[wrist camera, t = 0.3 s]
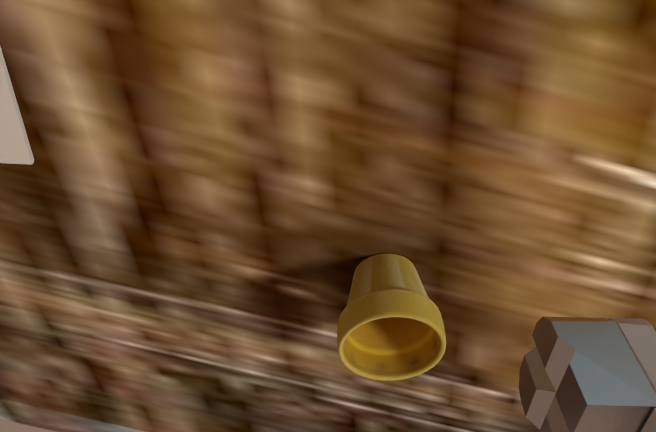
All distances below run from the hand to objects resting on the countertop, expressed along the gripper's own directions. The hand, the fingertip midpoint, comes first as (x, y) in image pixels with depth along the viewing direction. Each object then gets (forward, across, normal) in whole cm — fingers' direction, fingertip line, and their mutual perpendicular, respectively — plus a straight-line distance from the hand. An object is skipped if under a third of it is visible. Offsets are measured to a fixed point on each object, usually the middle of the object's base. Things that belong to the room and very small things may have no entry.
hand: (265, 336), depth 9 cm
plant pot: (+43, -10, +36) cm, 57 cm away
